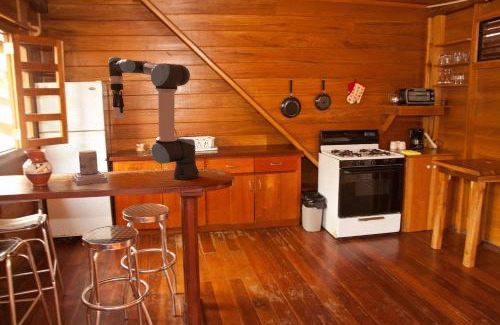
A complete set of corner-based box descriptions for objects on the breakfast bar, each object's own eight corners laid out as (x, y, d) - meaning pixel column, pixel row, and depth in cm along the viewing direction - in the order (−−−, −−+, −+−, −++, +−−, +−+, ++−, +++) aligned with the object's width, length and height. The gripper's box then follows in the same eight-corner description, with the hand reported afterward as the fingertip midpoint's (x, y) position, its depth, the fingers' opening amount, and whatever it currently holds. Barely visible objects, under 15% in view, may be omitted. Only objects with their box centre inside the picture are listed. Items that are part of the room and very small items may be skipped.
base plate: (107, 181, 223) (107, 174, 222) (77, 185, 215) (76, 178, 214) (100, 176, 240) (100, 169, 239) (72, 179, 232) (72, 172, 231)
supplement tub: (76, 177, 224) (74, 151, 221) (89, 174, 233) (87, 149, 230) (89, 178, 220) (87, 152, 218) (102, 175, 229) (100, 150, 227)
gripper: (106, 84, 249) (108, 117, 252) (114, 82, 228) (117, 119, 231) (118, 84, 253) (120, 117, 256) (127, 82, 231) (130, 118, 235)
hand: (119, 118), depth 244 cm, fingers open, 13 cm apart
